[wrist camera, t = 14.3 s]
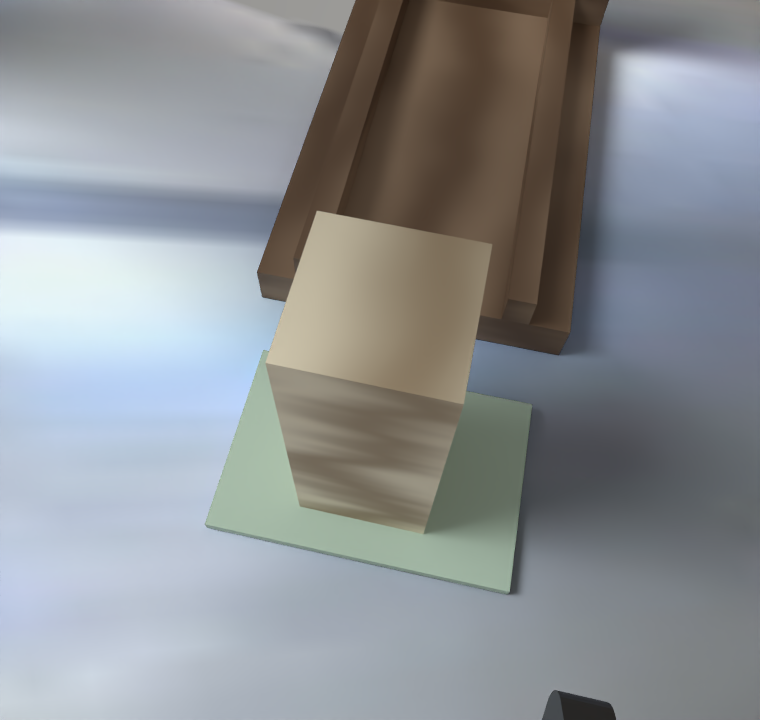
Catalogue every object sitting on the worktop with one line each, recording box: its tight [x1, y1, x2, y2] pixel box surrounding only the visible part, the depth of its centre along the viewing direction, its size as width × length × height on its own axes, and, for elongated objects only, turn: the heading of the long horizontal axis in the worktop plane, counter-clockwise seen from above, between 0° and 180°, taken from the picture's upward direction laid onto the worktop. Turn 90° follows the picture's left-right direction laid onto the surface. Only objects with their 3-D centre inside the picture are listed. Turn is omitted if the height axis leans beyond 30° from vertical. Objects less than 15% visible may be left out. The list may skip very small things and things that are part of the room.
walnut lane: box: [257, 0, 609, 355], centre depth 34 cm, size 14×22×10 cm, turn 168°
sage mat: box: [205, 350, 532, 594], centre depth 29 cm, size 12×8×1 cm, turn 78°
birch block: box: [265, 211, 492, 534], centre depth 24 cm, size 5×5×12 cm
